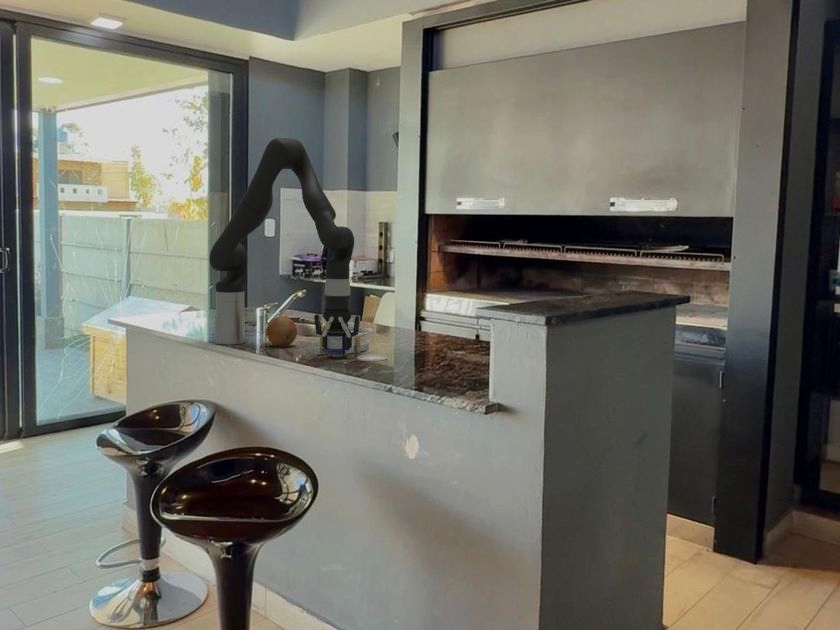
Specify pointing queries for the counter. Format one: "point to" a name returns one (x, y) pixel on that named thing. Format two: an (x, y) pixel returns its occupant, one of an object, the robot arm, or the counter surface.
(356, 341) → the dowel
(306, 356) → the counter surface
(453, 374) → the counter surface
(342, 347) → the pill bottle
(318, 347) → the grey plate with post
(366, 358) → the coaster
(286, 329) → the onion
